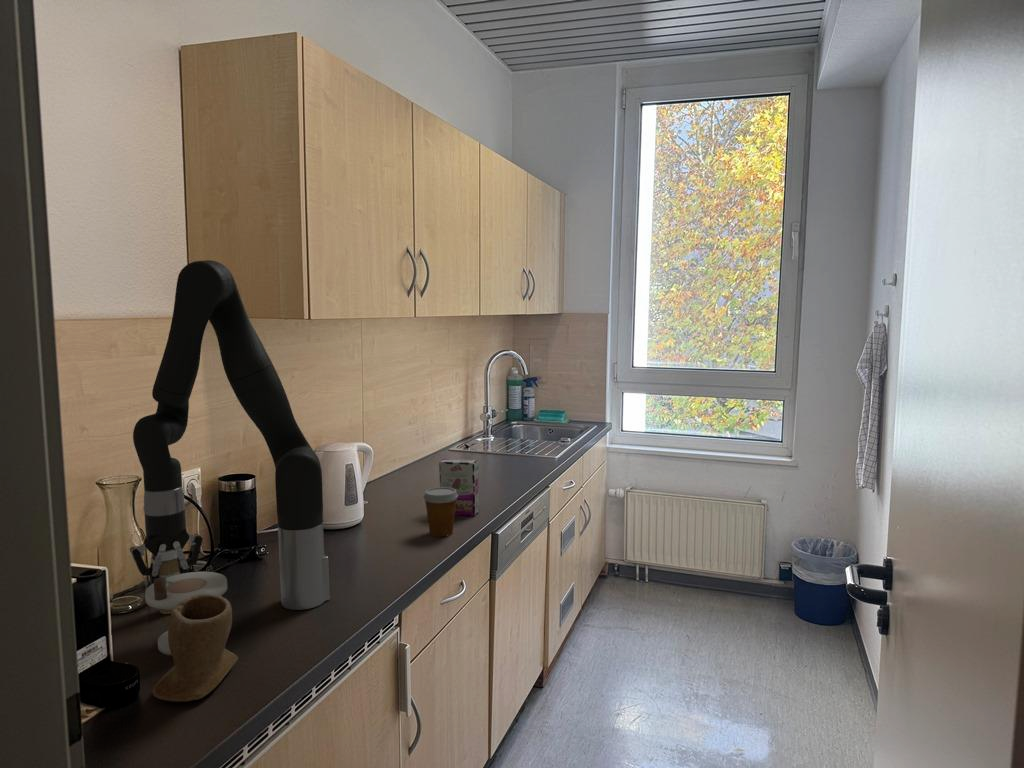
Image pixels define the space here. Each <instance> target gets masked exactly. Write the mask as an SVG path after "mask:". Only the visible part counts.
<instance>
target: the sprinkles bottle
mask: <svg viewBox="0 0 1024 768" xmlns="http://www.w3.org/2000/svg"><path fill="white" fill-rule="evenodd" d="M160 556H161V557H162V563H161V565H160V568H159V572H158V575H159V578H160V577H164V578H167V577H170V576H174V575H178V574H180V566H179V559H178V555H177V550H175V549H171V550H167V551H165V552H163V553H162V554H161V555H160ZM155 559H156V557H155ZM158 610H159V613H160V614H163V615H171V613H172V611H173V609H158Z"/></svg>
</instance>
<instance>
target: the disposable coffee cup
mask: <svg viewBox="0 0 1024 768" xmlns="http://www.w3.org/2000/svg"><path fill="white" fill-rule="evenodd" d="M457 497H458V494H457V492H456V490H455V489H453V488H447V487H440V486H439V487H432V488H428V489H426V490H425V491H424V494H423V499H424V501H425V507H426V515H427V523H428V528H429V534H431V535H430V536H432V535H434V536H433V537H435V536H445V537H448V536H447V535H449V536H451V535H453V531H454V523H455V516H456V515H455V507H456V499H457Z"/></svg>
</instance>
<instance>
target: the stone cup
mask: <svg viewBox="0 0 1024 768" xmlns="http://www.w3.org/2000/svg"><path fill="white" fill-rule="evenodd" d="M232 608H233V607H232V605H231V602H230V601H229V600H228V599H227V598H226V597H223V595H222V596H219V595H215V594H198V595H194V596H190V597H188V598H186V599H184V600H182V601H181V602H179V603H178V604H177V605H176V607H175V608H174V609H173V611H172V613H171V614H170V616H169V621H168V630H167V631H168V643H169V649H170V652H171V654H172V655H171V657H172V659H173V664H174V666H173V667H171V668H170V669H169V670H168V671H167V672H166V673H165V674H164V675H163V676H162V677H161V678H160V679H159V681H158V682H157V683H156V684H155V686H154V688H153V689H152V695H153V696H154V697H155V698H157V699H158V700H163V701H166V702H175V703H176V702H181V703H182V702H184V703H185V702H190V701H196V700H197V701H198V700H200V699H203V698H204V697H205V696H207V695H208V694H210V693H211V692H212V691H214V690H215V689H216V687H217V686H218V685H220V683H221V682H222V680H223V679H224V678H225V676H226V675H228V673H229V672H230V671H231V669H232V668H233V667H234V665H235V664H236V663H237V661H238V659H239V657H238V655H237V654H235V653H234V652H231V651H230V650H229V649H227V648H226V644H227V642H228V638H229V636H230V632H231V629H232V624H233V609H232Z"/></svg>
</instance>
